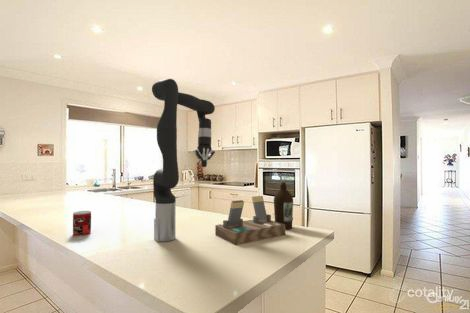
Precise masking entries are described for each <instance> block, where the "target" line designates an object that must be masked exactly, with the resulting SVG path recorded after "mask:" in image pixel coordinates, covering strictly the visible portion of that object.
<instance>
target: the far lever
mask: <svg viewBox="0 0 470 313" xmlns="http://www.w3.org/2000/svg"><path fill="white" fill-rule="evenodd" d="M251 200H252V204H253V210H254V213H255V215H254V216H257V217H259V222H262V221H267V211H266V207H265V202H264V196H263V195H257V196H252V197H251Z"/></svg>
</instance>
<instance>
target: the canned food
mask: <svg viewBox="0 0 470 313" xmlns="http://www.w3.org/2000/svg"><path fill="white" fill-rule="evenodd" d="M91 232H92V211H91V210H79V211H74V212H73V214H72V234H73V236H76V237H79V236H86V235H89V234H91Z"/></svg>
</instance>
